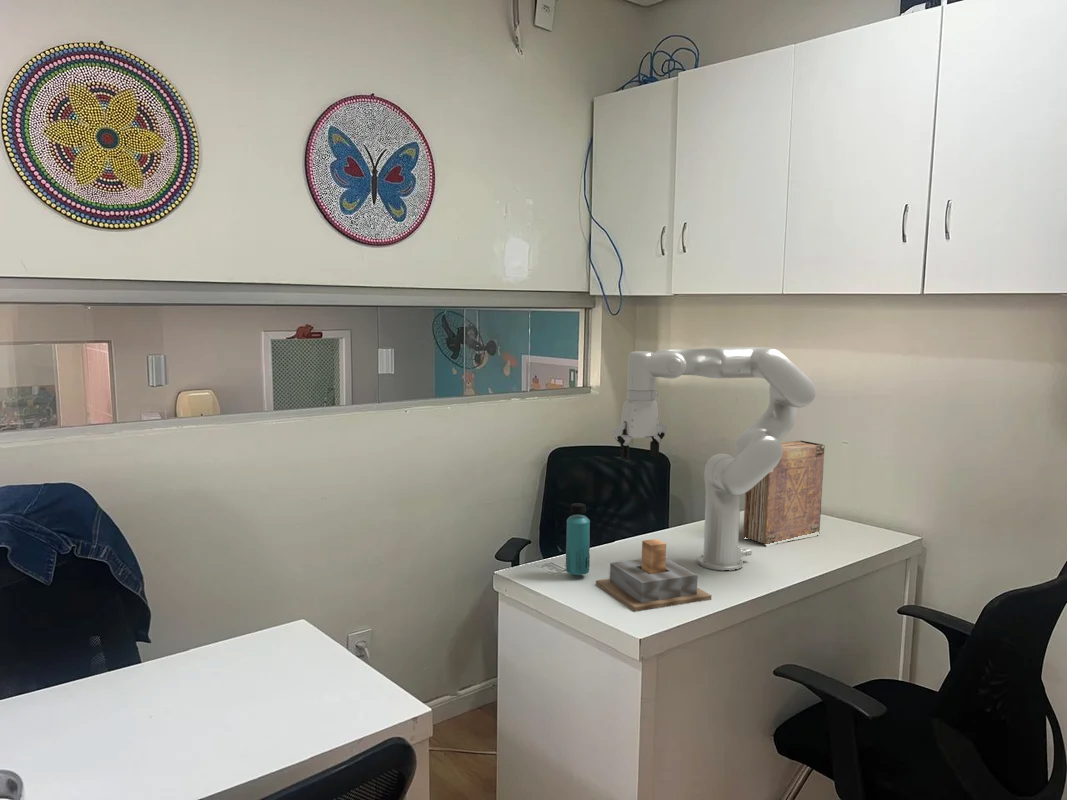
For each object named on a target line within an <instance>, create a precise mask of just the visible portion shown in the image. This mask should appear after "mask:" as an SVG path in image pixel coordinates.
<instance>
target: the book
mask: <svg viewBox="0 0 1067 800" xmlns="http://www.w3.org/2000/svg"><path fill="white" fill-rule="evenodd" d="M781 444H782V448H783V453H782V457H781V459H780V461H779V463H778V464H777V465H776V467H775V468H774V469H773V470H771V471H770V472H769V473H768V474H767V475H766V476H765V477H764V478H763V479H762V480H761V481H759V482H758V483H757V484H756V485H755V486H754V487H753V488H752V489H750V490H749V491H748V492H746V493H744V509H743V513H744V514H743V528H742V530H743V531H742V538H743V537H744V538H745V537H746V538H749V539H748V540H750V539H752V540H751V541H753V540H755V541H754V542H756V541H758V542H757V543H759V542H761V543H760V544H762V543H765V544H770V543H774V542H778V541H782V540H786V539H791V538H794V537H798V536H802V535H807V534H811V533H815V532H819V531H820V529H821V512H822V496H823V478H824V464H825V463H824V462H825V448H826V447H825V444H823V443H822V444H821V443H815V442H810V441H805V440H795V441H785V442H784V441H783V442H781ZM819 533H820V532H819ZM765 544H764V545H765Z"/></svg>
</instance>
